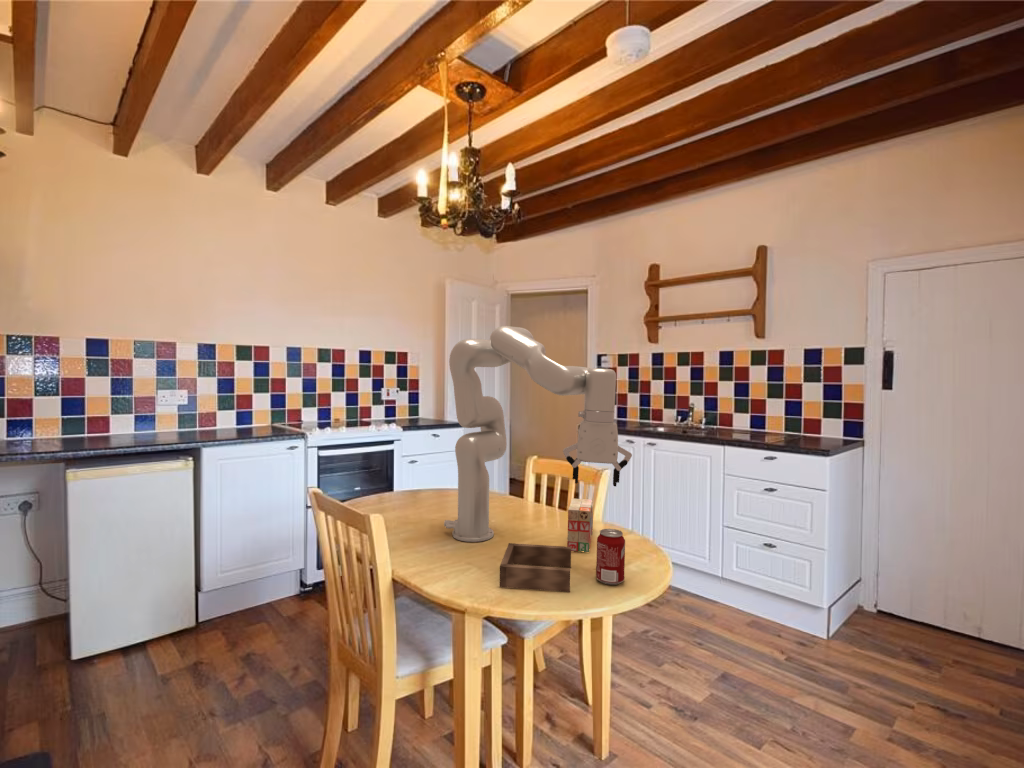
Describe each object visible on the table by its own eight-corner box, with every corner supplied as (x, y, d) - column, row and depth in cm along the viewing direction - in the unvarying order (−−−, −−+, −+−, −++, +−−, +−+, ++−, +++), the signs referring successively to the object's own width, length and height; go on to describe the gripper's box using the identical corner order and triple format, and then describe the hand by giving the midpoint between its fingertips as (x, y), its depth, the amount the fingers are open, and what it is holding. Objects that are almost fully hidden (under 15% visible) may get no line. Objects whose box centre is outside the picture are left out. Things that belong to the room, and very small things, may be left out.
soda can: (618, 589, 121) (619, 538, 121) (591, 582, 125) (592, 533, 124) (627, 579, 127) (629, 531, 127) (602, 572, 131) (603, 526, 130)
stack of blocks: (573, 528, 166) (574, 490, 166) (592, 530, 165) (593, 492, 165) (567, 551, 145) (567, 508, 145) (589, 553, 144) (590, 510, 144)
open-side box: (499, 587, 121) (499, 566, 121) (508, 561, 137) (508, 543, 137) (569, 592, 119) (570, 570, 119) (570, 565, 135) (571, 546, 135)
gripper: (564, 416, 128) (560, 484, 129) (635, 420, 125) (631, 490, 126) (565, 413, 135) (562, 477, 136) (632, 417, 133) (628, 482, 134)
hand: (595, 483), depth 131 cm, fingers open, 9 cm apart
